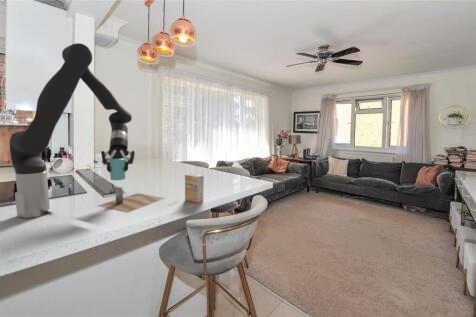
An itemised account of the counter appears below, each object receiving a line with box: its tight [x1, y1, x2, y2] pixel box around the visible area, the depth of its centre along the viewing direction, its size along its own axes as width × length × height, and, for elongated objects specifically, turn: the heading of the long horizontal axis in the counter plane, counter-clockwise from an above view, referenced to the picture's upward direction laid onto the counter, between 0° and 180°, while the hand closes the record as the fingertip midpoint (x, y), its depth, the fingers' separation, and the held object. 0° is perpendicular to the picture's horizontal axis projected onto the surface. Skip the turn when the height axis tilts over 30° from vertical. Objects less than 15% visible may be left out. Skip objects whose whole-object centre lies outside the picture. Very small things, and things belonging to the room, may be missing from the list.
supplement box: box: [184, 172, 205, 204], centre depth 115 cm, size 8×5×13 cm, turn 62°
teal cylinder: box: [109, 158, 126, 181], centre depth 103 cm, size 6×6×9 cm
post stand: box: [97, 186, 165, 214], centre depth 107 cm, size 22×18×8 cm
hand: (117, 170), depth 102 cm, fingers closed on teal cylinder, 5 cm apart
